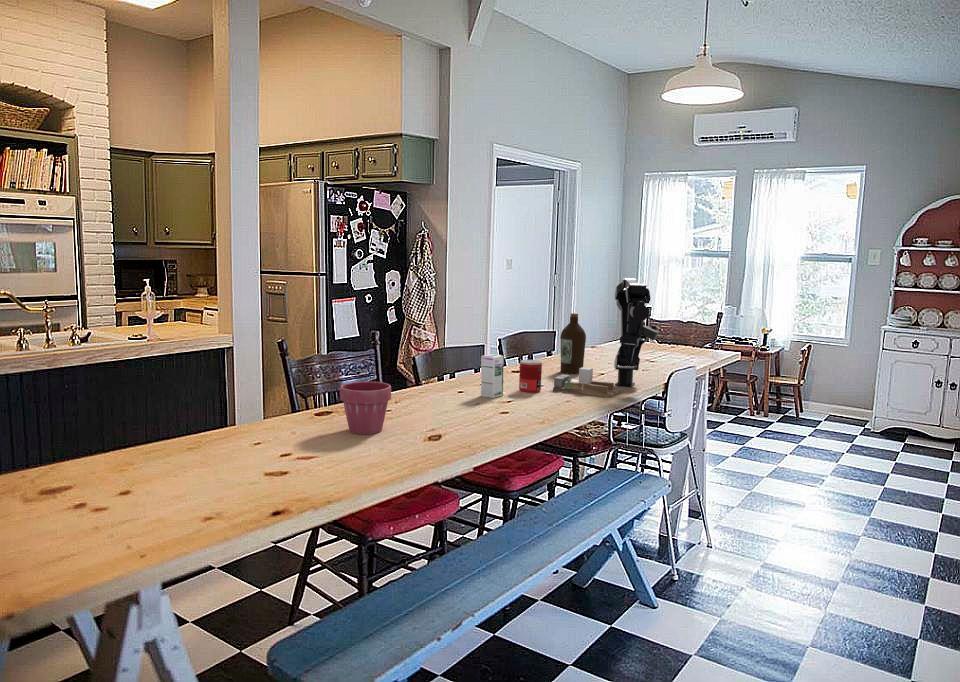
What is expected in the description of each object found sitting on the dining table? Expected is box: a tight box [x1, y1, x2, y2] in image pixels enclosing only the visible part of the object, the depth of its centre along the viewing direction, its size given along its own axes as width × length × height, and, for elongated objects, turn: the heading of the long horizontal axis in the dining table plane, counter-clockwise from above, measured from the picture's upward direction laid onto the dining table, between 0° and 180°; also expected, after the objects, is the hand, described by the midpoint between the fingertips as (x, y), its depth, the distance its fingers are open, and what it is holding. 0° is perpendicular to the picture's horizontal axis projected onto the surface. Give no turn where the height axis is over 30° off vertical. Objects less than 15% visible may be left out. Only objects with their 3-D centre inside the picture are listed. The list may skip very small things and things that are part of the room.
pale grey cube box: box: [566, 366, 594, 384], centre depth 264 cm, size 7×8×7 cm
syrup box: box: [480, 353, 504, 399], centre depth 250 cm, size 6×6×14 cm
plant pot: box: [339, 381, 392, 435], centre depth 200 cm, size 14×14×13 cm
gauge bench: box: [552, 373, 620, 398], centre depth 264 cm, size 11×22×4 cm, turn 64°
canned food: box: [518, 359, 543, 394], centre depth 262 cm, size 8×8×11 cm
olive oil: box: [559, 312, 587, 375], centre depth 303 cm, size 11×11×25 cm
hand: (633, 360), depth 263 cm, fingers open, 9 cm apart
